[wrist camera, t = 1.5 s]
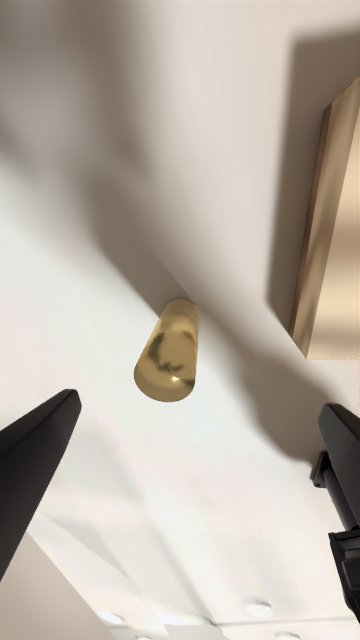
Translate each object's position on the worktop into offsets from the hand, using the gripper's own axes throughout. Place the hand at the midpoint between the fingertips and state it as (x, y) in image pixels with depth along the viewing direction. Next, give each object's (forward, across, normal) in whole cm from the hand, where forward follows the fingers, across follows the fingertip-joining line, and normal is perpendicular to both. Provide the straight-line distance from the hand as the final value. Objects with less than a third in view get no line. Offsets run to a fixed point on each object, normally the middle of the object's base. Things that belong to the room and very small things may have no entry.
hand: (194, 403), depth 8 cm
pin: (+13, +2, +3) cm, 13 cm away
